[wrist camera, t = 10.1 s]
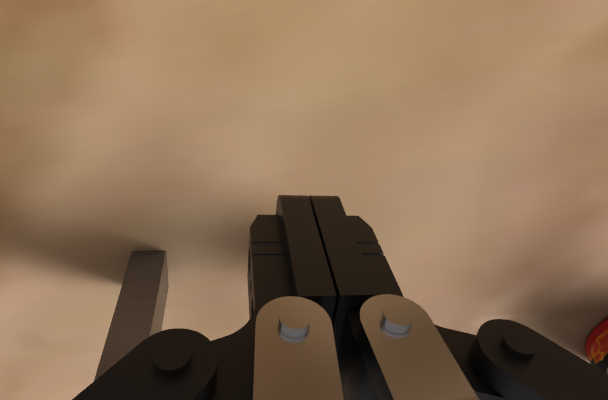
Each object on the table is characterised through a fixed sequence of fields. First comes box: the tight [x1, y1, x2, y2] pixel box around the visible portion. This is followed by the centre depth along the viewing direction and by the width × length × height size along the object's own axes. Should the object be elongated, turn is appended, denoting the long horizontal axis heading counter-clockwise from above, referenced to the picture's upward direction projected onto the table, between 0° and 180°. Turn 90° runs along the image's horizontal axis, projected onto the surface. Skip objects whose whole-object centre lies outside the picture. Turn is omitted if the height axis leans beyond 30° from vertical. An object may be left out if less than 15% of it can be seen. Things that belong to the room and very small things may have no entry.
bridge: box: [94, 252, 168, 381], centre depth 25 cm, size 3×15×10 cm, turn 84°
